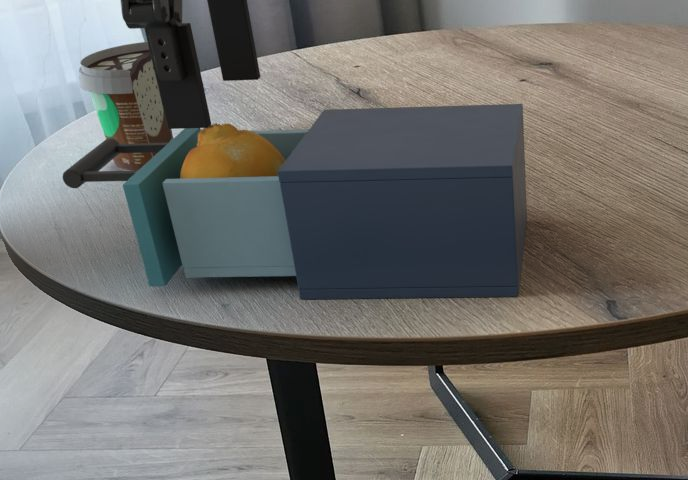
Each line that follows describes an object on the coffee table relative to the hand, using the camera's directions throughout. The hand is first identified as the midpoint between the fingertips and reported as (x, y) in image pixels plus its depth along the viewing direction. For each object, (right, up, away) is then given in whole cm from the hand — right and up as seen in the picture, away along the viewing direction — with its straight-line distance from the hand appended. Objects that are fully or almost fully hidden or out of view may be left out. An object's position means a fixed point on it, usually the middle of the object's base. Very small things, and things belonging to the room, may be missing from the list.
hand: (217, 101), depth 68 cm
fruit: (+1, -9, +4) cm, 10 cm away
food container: (-17, +2, +29) cm, 34 cm away
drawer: (0, -10, +6) cm, 12 cm away
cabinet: (+14, -11, +5) cm, 18 cm away
